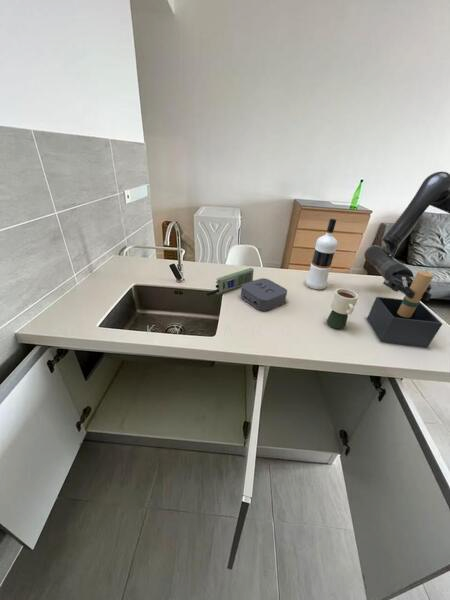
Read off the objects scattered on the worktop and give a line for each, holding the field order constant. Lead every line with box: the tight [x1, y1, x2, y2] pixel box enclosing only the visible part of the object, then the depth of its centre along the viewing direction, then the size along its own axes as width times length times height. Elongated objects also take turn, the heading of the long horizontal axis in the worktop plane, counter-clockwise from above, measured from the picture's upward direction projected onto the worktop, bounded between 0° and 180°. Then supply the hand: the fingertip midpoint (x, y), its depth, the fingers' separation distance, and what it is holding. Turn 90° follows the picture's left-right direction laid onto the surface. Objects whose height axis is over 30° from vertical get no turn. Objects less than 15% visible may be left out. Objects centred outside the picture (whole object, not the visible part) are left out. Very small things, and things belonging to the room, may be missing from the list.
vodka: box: [304, 218, 338, 291], centre depth 104 cm, size 9×9×30 cm
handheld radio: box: [206, 267, 254, 297], centre depth 104 cm, size 7×3×25 cm
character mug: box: [326, 287, 359, 330], centre depth 83 cm, size 11×7×13 cm, turn 4°
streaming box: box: [240, 278, 288, 312], centre depth 98 cm, size 14×14×5 cm
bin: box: [366, 296, 443, 349], centre depth 82 cm, size 14×13×10 cm
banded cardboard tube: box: [397, 270, 435, 318], centre depth 77 cm, size 4×4×15 cm
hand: (420, 296), depth 74 cm, fingers closed on banded cardboard tube, 4 cm apart
